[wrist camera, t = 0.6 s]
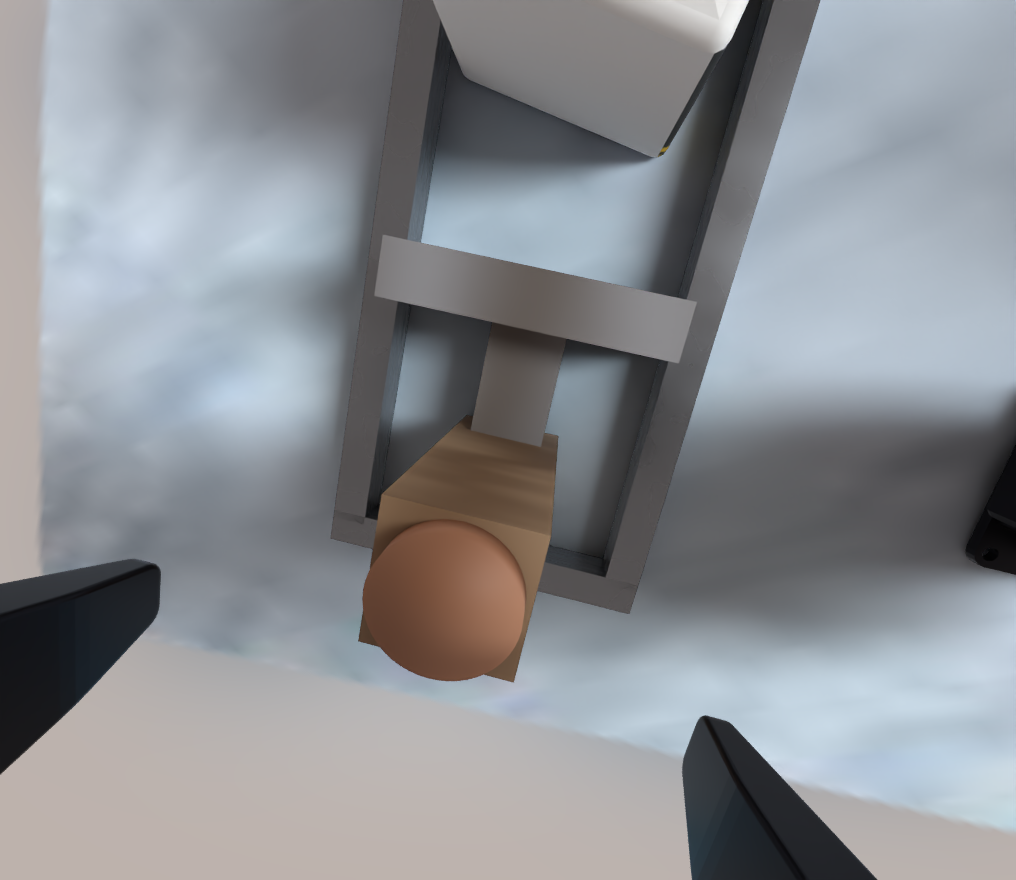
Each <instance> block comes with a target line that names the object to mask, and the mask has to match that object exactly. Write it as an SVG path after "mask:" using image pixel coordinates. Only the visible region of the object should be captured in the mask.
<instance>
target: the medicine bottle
mask: <svg viewBox="0 0 1016 880" xmlns="http://www.w3.org/2000/svg"><path fill="white" fill-rule="evenodd" d="M748 1H749V0H433V2H434V5H435V7H436V10H437V12H438V14H439V17H440V19H441V22H442V24H443V26H444V29H445V31H446V34H447V36H448V39H449V41H450V43H451V46H452V48H453V51H454V53H455V55H456V58H457V60H458V63H459V65H460V67H461V70H462V72H463V75H464V76H465V77H466V78H468V79H469V80H471V81H473V82H476V83H478V84H480V85H483V86H485V87H487V88H490V89H492V90H494V91H497V92H499V93H501V94H504V95H506V96H509V97H511V98H513V99H516V100H518V101H520V102H523V103H525V104H527V105H530V106H532V107H535V108H537V109H539V110H542V111H544V112H546V113H549V114H551V115H553V116H556V117H558V118H560V119H563V120H565V121H568V122H570V123H572V124H575V125H577V126H579V127H582V128H584V129H586V130H589V131H591V132H594V133H596V134H598V135H601V136H603V137H605V138H608V139H610V140H612V141H615V142H617V143H619V144H622V145H624V146H627V147H629V148H631V149H634V150H636V151H638V152H641V153H643V154H645V155H648V156H650V157H659V156H661V155H663V154H664V153H665V151H666V150H667V149H668V147H669V145H670V143H671V142H672V140H673V138H674V137H675V135H676V133H677V131H678V130H679V128H680V126H681V125H682V123H683V121H684V119H685V118H686V116H687V114H688V113H689V111H690V109H691V107H692V106H693V104H694V102H695V101H696V99H697V97H698V95H699V94H700V92H701V90H702V89H703V87H704V85H705V83H706V82H707V80H708V78H709V77H710V75H711V73H712V71H713V70H714V68H715V66H716V65H717V63H718V61H719V59H720V58H721V56H722V54H723V53H724V51H725V49H726V47H727V46H728V44H729V42H730V41H731V39H732V37H733V34H734V32H735V30H736V28H737V25H738V23H739V21H740V19H741V17H742V14H743V12H744V10H745V8H746V6H747V3H748Z"/></svg>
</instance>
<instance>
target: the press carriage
mask: <svg viewBox="0 0 1016 880" xmlns="http://www.w3.org/2000/svg"><path fill="white" fill-rule="evenodd" d="M374 296H377V297H382V298H386V299H391V300H395V301H400V302H404V303H409V304H413V305H418V306H422V307H427V308H431V309H436V310H440V311H445V312H449V313H454V314H458V315H463V316H467V317H472V318H476V319H481V320H485V321H490V322H492V325H491V330H490V335H489V340H488V345H487V350H486V355H485V360H484V365H483V370H482V375H481V380H480V385H479V390H478V395H477V400H476V405H475V410H474V415H473V416H470V415H466V416H465V417H464V418H463V419H462V420H461V421H460V422H459V423H458V424H457V425H456V426H455V427H453V428H452V429H451V430H450V431H449V432H448V433H447V434H446V435H445V436H444V437H443V438H442V439H441V440H439V441H438V442H437V443H436V444H435V445H434V446H433V447H432V448H431V449H430V450H429V451H428V452H427V453H425V454H424V455H423V456H422V457H421V458H420V459H419V460H418V461H417V462H416V463H415V464H414V465H413V466H411V467H410V468H409V469H408V470H407V471H406V472H405V473H404V474H403V475H402V476H401V477H400V478H399V479H397V480H396V481H395V482H394V483H393V484H392V485H391V486H390V487H389V488H388V489H387V490H386V491H385V492H383V493H382V495H381V502H380V508H379V514H378V521H377V527H376V533H375V539H374V546H373V552H372V558H371V564H370V571H369V573H368V575H367V578H366V580H365V584H364V589H363V615H362V621H361V627H360V634H359V640H358V641H359V642H363V643H367V644H371V645H374V646H378V647H380V648H381V649H382V650H383V651H384V652H385V653H386V654H387V655H388V656H389V657H390V658H391V659H392V660H393V661H395V662H396V663H397V664H399V665H400V666H402V667H403V668H405V669H407V670H408V671H411V672H413V673H415V674H417V675H420V676H423V677H426V678H430V679H435V680H441V681H461V680H468V679H472V678H475V677H478V676H481V675H483V674H484V675H487V676H491V677H495V678H499V679H502V680H506V681H510V682H514V679H515V675H516V672H517V668H518V664H519V660H520V656H521V652H522V648H523V644H524V640H525V636H526V632H527V628H528V625H529V621H530V617H531V613H532V609H533V605H534V601H535V597H536V593H537V589H538V585H539V581H540V578H541V574H542V570H543V566H544V562H545V558H546V554H547V550H548V546H549V542H550V538H551V531H552V517H553V503H554V489H555V475H556V461H557V447H558V436H556V435H551V434H547V433H544V432H545V428H546V423H547V419H548V415H549V411H550V407H551V402H552V398H553V394H554V390H555V386H556V381H557V377H558V373H559V369H560V365H561V360H562V356H563V352H564V348H565V344H566V340H567V339H571V340H575V341H580V342H584V343H589V344H593V345H598V346H602V347H607V348H611V349H616V350H620V351H625V352H629V353H634V354H638V355H643V356H647V357H652V358H656V359H661V360H665V361H670V362H674V363H679V361H680V357H681V354H682V351H683V347H684V344H685V341H686V337H687V334H688V331H689V327H690V324H691V320H692V317H693V314H694V310H695V307H696V304H697V302H695V301H690V300H685V299H681V298H676V297H671V296H667V295H662V294H657V293H653V292H648V291H644V290H639V289H634V288H630V287H625V286H620V285H616V284H611V283H606V282H602V281H597V280H592V279H588V278H583V277H578V276H574V275H569V274H564V273H560V272H555V271H550V270H546V269H541V268H536V267H532V266H527V265H522V264H518V263H513V262H508V261H504V260H499V259H494V258H490V257H485V256H480V255H476V254H471V253H466V252H462V251H457V250H452V249H448V248H443V247H438V246H434V245H429V244H424V243H420V242H415V241H410V240H406V239H401V238H396V237H392V236H387V235H383V237H382V244H381V252H380V259H379V266H378V273H377V280H376V287H375V294H374Z"/></svg>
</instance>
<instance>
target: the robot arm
mask: <svg viewBox="0 0 1016 880" xmlns="http://www.w3.org/2000/svg"><path fill="white" fill-rule="evenodd" d="M988 548H989V551H988V552H987V554H985V555H983V556H982V553H983V552H984V550H985V549H988ZM966 555H967V557H968V558H969V559H970V560H972V561H973V562H975V563H977V564H978V565H980V566H983V567H986V568H990V569H994V570H998V571H1003V572H1007V573H1011V574H1015V575H1016V445H1015V447H1014V449H1013V452H1012V454H1011V456H1010V458H1009V460H1008V462H1007V464H1006V466H1005V468H1004V470H1003V472H1002V474H1001V476H1000V478H999V480H998V482H997V484H996V487H995V489H994V491H993V493H992V495H991V497H990V499H989V501H988V503H987V505H986V507H985V509H984V511H983V513H982V515H981V517H980V520H979V522H978V524H977V526H976V528H975V530H974V532H973V534H972V536H971V538H970V540H969V542H968V544H967V547H966ZM160 582H161V571H160V569H159V567H158V566H157V565H156V564H153V563H150V562H146V561H142V560H139V559H127V560H122V561H117V562H111V563H106V564H101V565H96V566H91V567H86V568H80V569H75V570H70V571H65V572H60V573H55V574H49V575H44V576H39V577H34V578H29V579H23V580H19V581H13V582H8V583H3V584H0V774H1V773H2V772H4V771H5V770H6V769H7V768H8V767H9V766H10V765H11V764H12V763H13V762H14V761H16V759H18V758H19V757H20V756H21V755H22V754H23V753H24V752H25V751H27V750H28V749H29V748H30V747H31V746H32V745H33V744H34V743H35V742H36V741H37V740H38V739H40V738H41V737H42V736H43V735H44V734H45V733H46V732H47V731H48V730H49V729H50V728H52V727H53V726H54V725H55V724H56V723H57V722H58V721H59V720H60V719H61V718H62V717H63V716H64V715H65V714H66V713H68V712H69V711H70V710H71V709H72V708H73V707H74V706H75V705H76V704H77V703H78V702H79V701H80V700H81V699H82V698H83V697H84V695H85V694H86V693H88V691H89V690H90V689H91V688H92V687H93V686H94V685H95V684H96V683H97V682H98V681H99V680H100V679H101V678H102V676H103V675H104V674H105V673H106V672H107V671H108V670H109V669H110V668H111V667H112V666H113V665H114V663H115V662H116V661H117V660H118V659H119V658H120V657H121V656H122V655H123V654H124V653H125V652H126V651H127V649H128V648H129V647H130V646H131V645H132V644H133V643H134V642H135V641H136V640H137V639H138V638H139V637H140V635H141V634H142V633H143V632H144V631H145V630H146V629H147V628H148V627H149V626H150V625H151V623H152V622H153V621H154V619H155V618H156V616H157V614H158V610H159V604H160ZM682 774H683V775H682V776H683V787H684V796H685V797H684V798H685V807H686V808H685V809H686V819H687V831H688V842H689V854H690V865H691V874H692V880H877V879H876V878H875V877H874V875H872V873H871V872H870V871H869V870H868V869H867V868H866V867H865V866H864V865H863V864H862V863H861V862H860V861H859V859H858V858H857V857H856V856H855V855H854V854H853V853H852V852H851V851H850V850H849V849H848V848H847V847H846V846H845V845H844V844H843V842H842V841H841V840H840V839H839V838H838V837H837V836H836V835H835V834H834V833H833V832H832V831H831V830H830V829H829V828H828V826H827V825H826V824H825V823H824V822H823V821H822V820H821V819H820V818H819V817H818V816H817V815H816V814H815V813H814V811H813V810H812V809H811V808H810V807H809V806H808V805H807V804H806V803H805V802H804V801H803V800H802V799H801V798H800V797H799V796H798V794H796V792H795V791H794V790H793V789H792V788H791V787H790V786H789V785H788V784H787V783H786V782H785V781H784V779H783V778H782V777H781V776H780V775H779V774H778V773H777V772H776V771H775V770H774V769H773V768H772V767H771V766H770V765H769V763H768V762H767V761H766V760H765V759H764V758H763V757H762V756H761V755H760V754H759V753H758V752H757V751H756V750H755V749H754V747H753V746H752V745H751V744H750V743H749V742H748V741H747V740H746V739H745V738H744V737H743V736H742V735H741V734H740V733H739V731H738V730H737V729H736V728H735V727H734V726H733V725H732V724H731V723H729V722H727V721H725V720H721V719H717V718H714V717H710V716H706V715H705V716H702V717H700V718H699V720H698V721H697V724H696V726H695V729H694V731H693V734H692V737H691V739H690V742H689V745H688V747H687V750H686V753H685V755H684V759H683V767H682Z"/></svg>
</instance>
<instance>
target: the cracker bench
mask: <svg viewBox="0 0 1016 880" xmlns="http://www.w3.org/2000/svg"><path fill="white" fill-rule="evenodd" d="M819 3H820V0H763V2H762V6H761V9H760V13H759V16H758V20H757V23H756V27H755V30H754V34H753V37H752V41H751V44H750V48H749V51H748V55H747V58H746V62H745V65H744V69H743V72H742V76H741V79H740V83H739V86H738V89H737V93H736V96H735V100H734V103H733V107H732V110H731V114H730V117H729V121H728V124H727V128H726V131H725V135H724V138H723V142H722V145H721V149H720V152H719V156H718V159H717V163H716V166H715V170H714V173H713V177H712V180H711V183H710V187H709V190H708V194H707V197H706V201H705V204H704V208H703V211H702V215H701V218H700V222H699V225H698V229H697V232H696V236H695V239H694V243H693V246H692V250H691V253H690V257H689V260H688V264H687V267H686V271H685V274H684V278H683V281H682V284H681V288H680V291H679V295H678V298H681V299H685V300H690V301H695V302H697V304H696V307H695V310H694V314H693V317H692V320H691V324H690V327H689V331H688V334H687V337H686V341H685V344H684V347H683V351H682V354H681V357H680V361H679V363H674V362H670V361H665V360H661V359H660V361H659V365H658V368H657V372H656V375H655V378H654V382H653V385H652V389H651V392H650V396H649V399H648V403H647V406H646V410H645V413H644V417H643V420H642V424H641V427H640V431H639V434H638V438H637V441H636V445H635V448H634V452H633V455H632V459H631V462H630V466H629V469H628V472H627V476H626V479H625V483H624V486H623V490H622V493H621V497H620V500H619V504H618V507H617V511H616V514H615V518H614V521H613V525H612V528H611V532H610V535H609V539H608V542H607V546H606V549H605V553H604V556H603V559H602V558H598V557H594V556H590V555H585V554H581V553H577V552H573V551H569V550H565V549H561V548H557V547H553V546H548V550H547V554H546V558H545V562H544V566H543V570H542V574H541V578H540V581H539V585H538V589H537V591H540V592H544V593H548V594H552V595H556V596H560V597H564V598H568V599H572V600H576V601H580V602H584V603H588V604H591V605H595V606H599V607H603V608H607V609H611V610H615V611H619V612H623V613H627V614H629V613H630V610H631V607H632V604H633V600H634V597H635V594H636V591H637V587H638V584H639V581H640V578H641V575H642V571H643V568H644V565H645V562H646V559H647V555H648V552H649V549H650V546H651V542H652V539H653V536H654V533H655V530H656V526H657V523H658V520H659V517H660V514H661V510H662V507H663V504H664V501H665V498H666V494H667V491H668V488H669V485H670V481H671V478H672V475H673V472H674V469H675V465H676V462H677V459H678V456H679V453H680V449H681V446H682V443H683V440H684V437H685V433H686V430H687V427H688V424H689V420H690V417H691V414H692V411H693V408H694V404H695V401H696V398H697V395H698V392H699V388H700V385H701V382H702V379H703V376H704V372H705V369H706V366H707V363H708V359H709V356H710V353H711V350H712V347H713V343H714V340H715V337H716V334H717V331H718V327H719V324H720V321H721V318H722V314H723V311H724V308H725V305H726V302H727V298H728V295H729V292H730V289H731V286H732V282H733V279H734V276H735V273H736V270H737V266H738V263H739V260H740V257H741V253H742V250H743V247H744V244H745V241H746V237H747V234H748V231H749V228H750V225H751V221H752V218H753V215H754V212H755V209H756V205H757V202H758V199H759V196H760V192H761V189H762V186H763V183H764V180H765V176H766V173H767V170H768V167H769V164H770V160H771V157H772V154H773V151H774V148H775V144H776V141H777V138H778V135H779V131H780V128H781V125H782V122H783V119H784V115H785V112H786V109H787V106H788V103H789V99H790V96H791V93H792V90H793V86H794V83H795V80H796V77H797V74H798V70H799V67H800V64H801V61H802V58H803V54H804V51H805V48H806V45H807V42H808V38H809V35H810V32H811V29H812V25H813V22H814V19H815V16H816V13H817V9H818V6H819ZM451 49H452V46H451V43H450V41H449V39H448V36H447V34H446V31H445V29H444V26H443V24H442V22H441V19H440V17H439V14H438V12H437V10H436V7H435V5H434V2H433V0H403V7H402V14H401V22H400V29H399V37H398V44H397V51H396V59H395V66H394V74H393V81H392V88H391V96H390V103H389V111H388V118H387V125H386V133H385V140H384V148H383V155H382V162H381V170H380V177H379V185H378V192H377V199H376V207H375V214H374V222H373V229H372V236H371V244H370V251H369V259H368V266H367V273H366V281H365V288H364V296H363V303H362V310H361V318H360V325H359V332H358V340H357V347H356V355H355V362H354V369H353V377H352V384H351V392H350V399H349V406H348V414H347V421H346V429H345V436H344V443H343V451H342V458H341V466H340V473H339V480H338V488H337V495H336V503H335V510H334V517H333V525H332V532H331V539H335V540H339V541H343V542H347V543H351V544H355V545H359V546H363V547H367V548H371V549H373V546H374V539H375V533H376V527H377V521H378V514H379V508H380V503H379V502H380V496H381V490H382V483H383V477H384V471H385V465H386V458H387V452H388V446H389V439H390V433H391V427H392V420H393V414H394V408H395V402H396V395H397V389H398V383H399V376H400V370H401V364H402V357H403V351H404V345H405V339H406V332H407V326H408V320H409V313H410V307H411V304H409V303H404V302H400V301H395V300H391V299H386V298H382V297H377V296H374V294H375V287H376V280H377V273H378V266H379V259H380V252H381V244H382V237H383V235H387V236H392V237H396V238H401V239H406V240H410V241H415V242H420V243H421V238H422V232H423V225H424V219H425V213H426V206H427V200H428V194H429V187H430V181H431V175H432V169H433V162H434V156H435V150H436V143H437V137H438V131H439V124H440V118H441V112H442V106H443V99H444V93H445V87H446V80H447V74H448V68H449V61H450V55H451Z"/></svg>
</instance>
